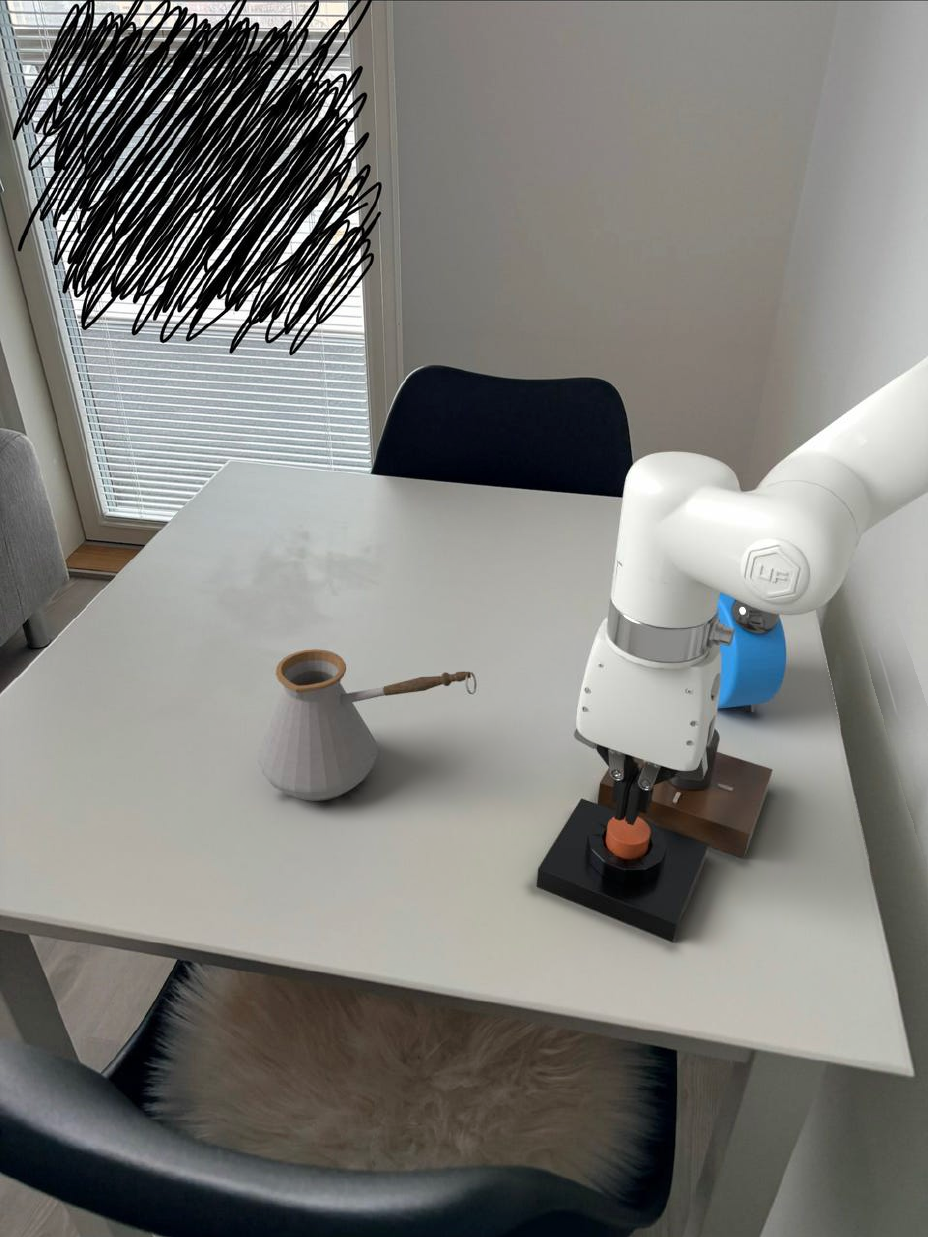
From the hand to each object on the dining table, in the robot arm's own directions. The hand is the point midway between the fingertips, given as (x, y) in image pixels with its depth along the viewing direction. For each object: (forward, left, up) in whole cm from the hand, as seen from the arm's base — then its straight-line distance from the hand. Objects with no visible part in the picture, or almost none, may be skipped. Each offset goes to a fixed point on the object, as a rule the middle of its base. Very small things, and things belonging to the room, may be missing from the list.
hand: (629, 811), depth 73 cm
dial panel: (-2, -12, -7) cm, 14 cm away
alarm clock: (-1, -31, -7) cm, 32 cm away
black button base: (0, 0, -7) cm, 7 cm away
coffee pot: (+26, +1, -7) cm, 27 cm away
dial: (-2, -12, -4) cm, 13 cm away
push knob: (0, 0, -4) cm, 4 cm away
